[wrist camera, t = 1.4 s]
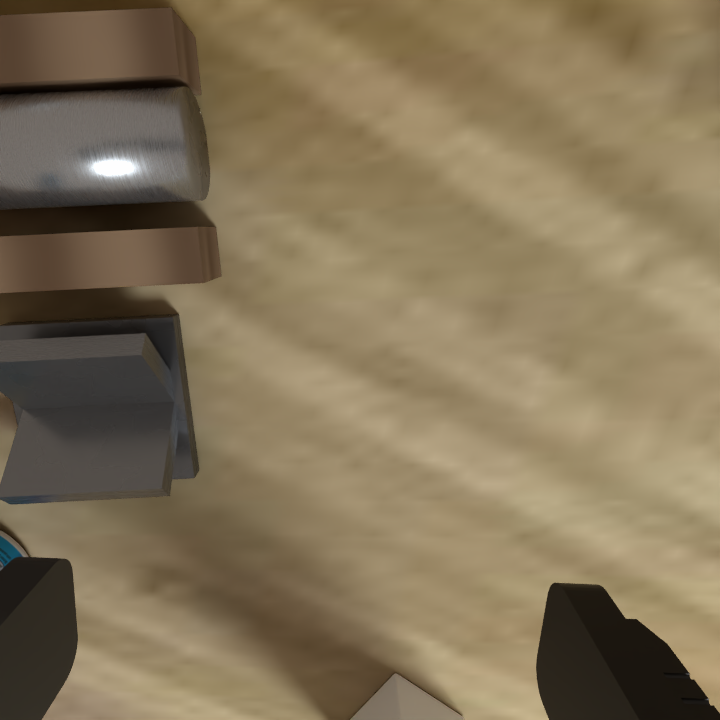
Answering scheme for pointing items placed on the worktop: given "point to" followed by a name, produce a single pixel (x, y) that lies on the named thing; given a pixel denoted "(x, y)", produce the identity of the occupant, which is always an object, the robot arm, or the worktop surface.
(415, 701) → the milk
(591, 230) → the worktop surface
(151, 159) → the grey metal cylinder
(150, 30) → the slotted block
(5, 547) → the beverage bottle
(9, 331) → the v block
